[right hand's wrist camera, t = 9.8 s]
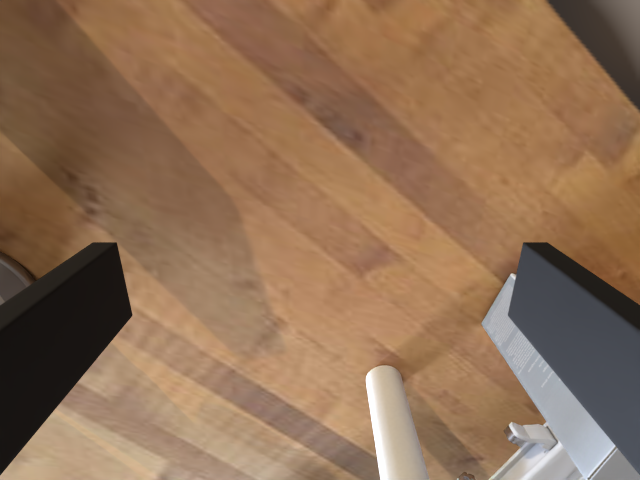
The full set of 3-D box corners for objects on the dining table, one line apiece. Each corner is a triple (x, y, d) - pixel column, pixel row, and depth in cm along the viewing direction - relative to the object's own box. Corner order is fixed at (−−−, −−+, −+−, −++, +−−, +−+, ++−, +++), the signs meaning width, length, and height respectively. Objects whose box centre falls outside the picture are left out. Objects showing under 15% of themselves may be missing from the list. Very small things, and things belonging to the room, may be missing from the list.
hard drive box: (628, 308, 44) (850, 468, 25) (590, 359, 47) (766, 537, 28) (509, 269, 42) (655, 411, 24) (477, 324, 45) (585, 490, 26)
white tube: (389, 397, 49) (424, 556, 33) (359, 385, 49) (378, 541, 32) (407, 373, 48) (454, 526, 31) (376, 360, 47) (407, 510, 30)
